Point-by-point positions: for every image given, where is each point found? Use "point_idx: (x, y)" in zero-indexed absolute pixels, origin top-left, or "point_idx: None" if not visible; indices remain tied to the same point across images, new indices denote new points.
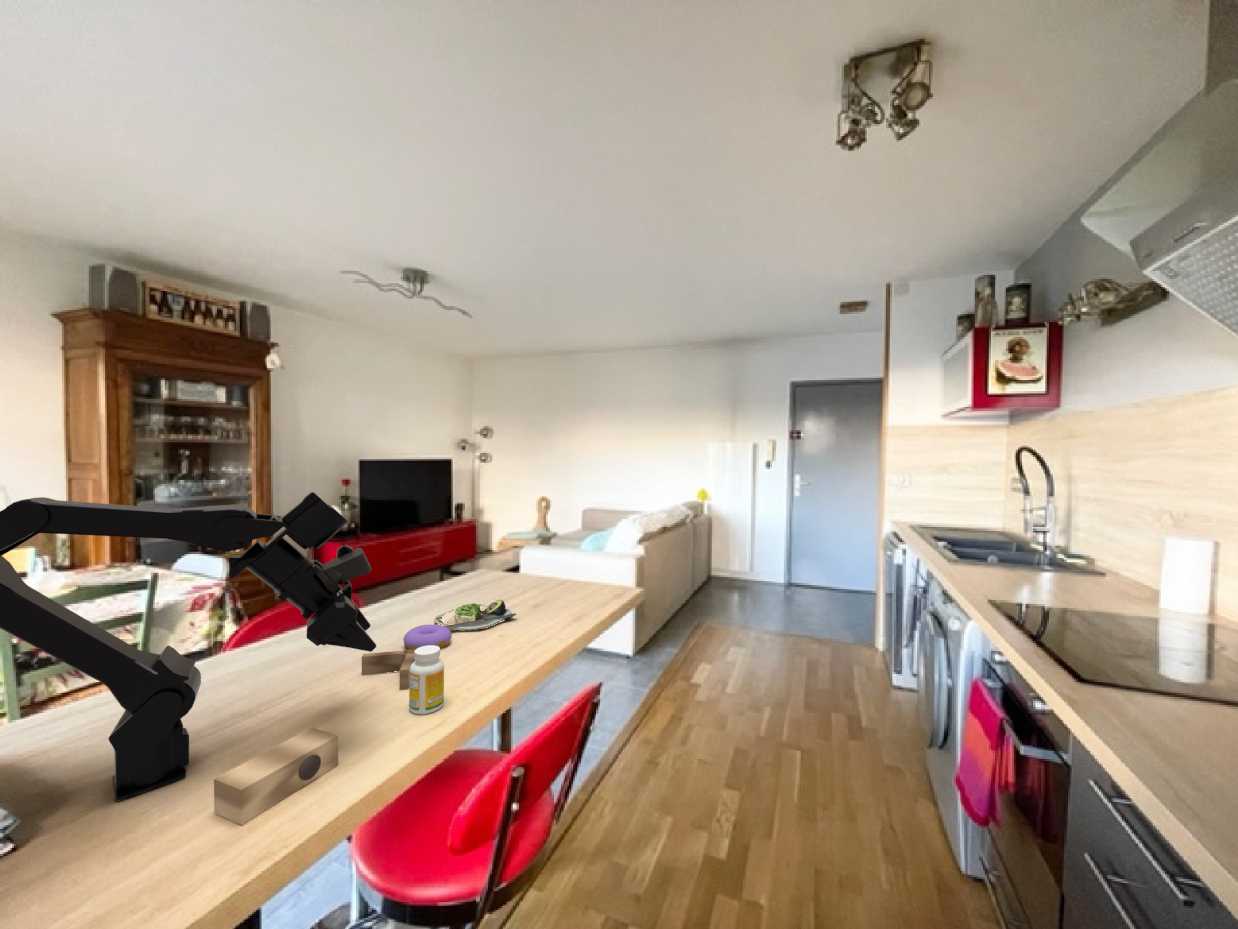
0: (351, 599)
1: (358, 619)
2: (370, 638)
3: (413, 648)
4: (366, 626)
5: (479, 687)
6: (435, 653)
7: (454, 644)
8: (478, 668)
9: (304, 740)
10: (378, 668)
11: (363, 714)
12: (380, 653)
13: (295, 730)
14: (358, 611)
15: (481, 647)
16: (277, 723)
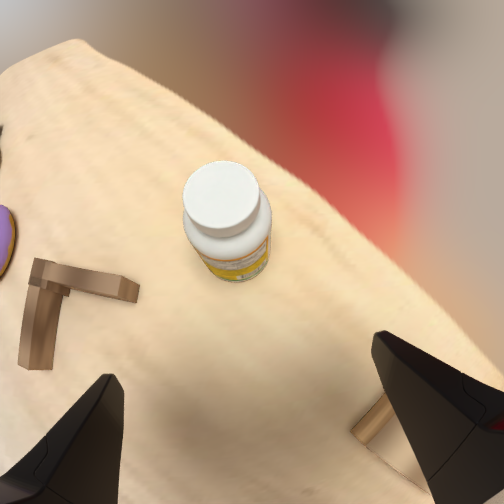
0: (35, 491)
1: (102, 431)
2: (417, 350)
3: (2, 271)
4: (115, 390)
5: (193, 159)
6: (251, 172)
7: (13, 204)
8: (116, 161)
9: (407, 442)
10: (48, 339)
11: (219, 370)
12: (24, 332)
13: (240, 475)
14: (77, 439)
15: (45, 161)
16: (200, 501)
